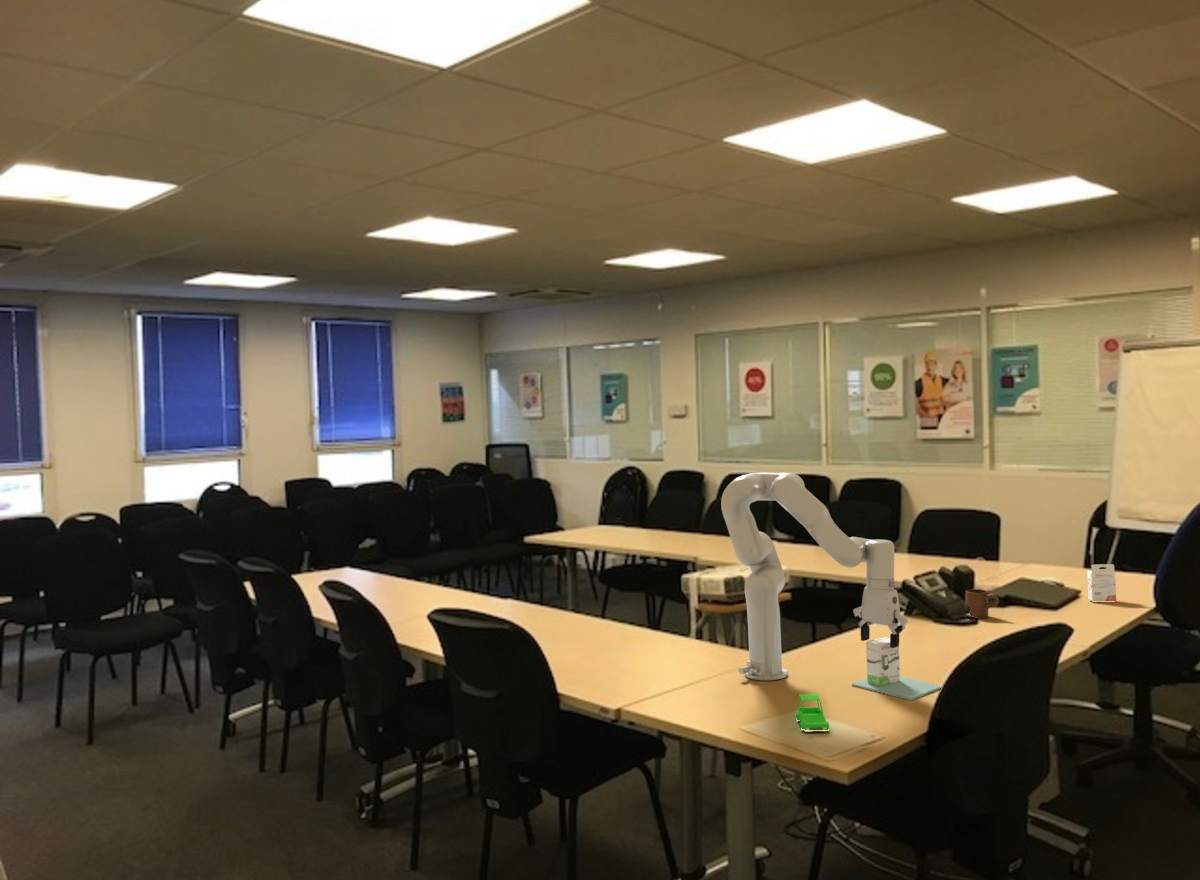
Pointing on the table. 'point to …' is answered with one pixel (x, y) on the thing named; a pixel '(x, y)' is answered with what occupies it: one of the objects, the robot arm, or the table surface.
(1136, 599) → the table surface
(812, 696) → the toy car
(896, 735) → the table surface
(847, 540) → the robot arm
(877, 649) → the white cardboard box
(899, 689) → the mat
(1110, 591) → the ink cartridge box
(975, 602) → the mug
